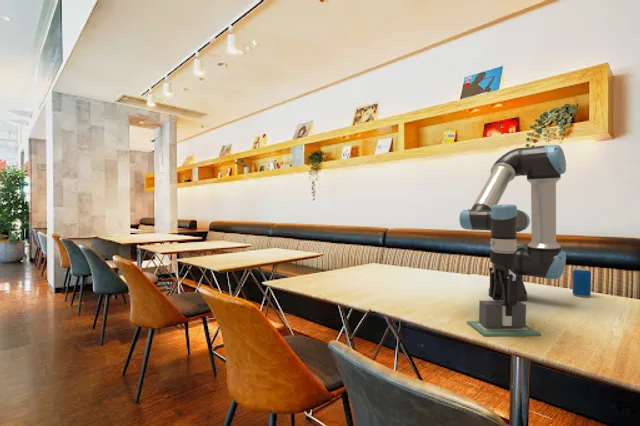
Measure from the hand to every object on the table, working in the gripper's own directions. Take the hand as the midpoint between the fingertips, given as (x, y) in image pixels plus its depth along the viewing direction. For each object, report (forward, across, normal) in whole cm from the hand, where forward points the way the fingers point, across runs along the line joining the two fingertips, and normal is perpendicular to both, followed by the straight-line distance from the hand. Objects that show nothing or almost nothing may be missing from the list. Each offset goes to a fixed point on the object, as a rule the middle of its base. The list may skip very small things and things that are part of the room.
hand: (502, 322), depth 116 cm
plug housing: (+1, 0, 0) cm, 1 cm away
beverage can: (+2, -41, +58) cm, 71 cm away
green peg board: (+2, 0, 0) cm, 2 cm away
